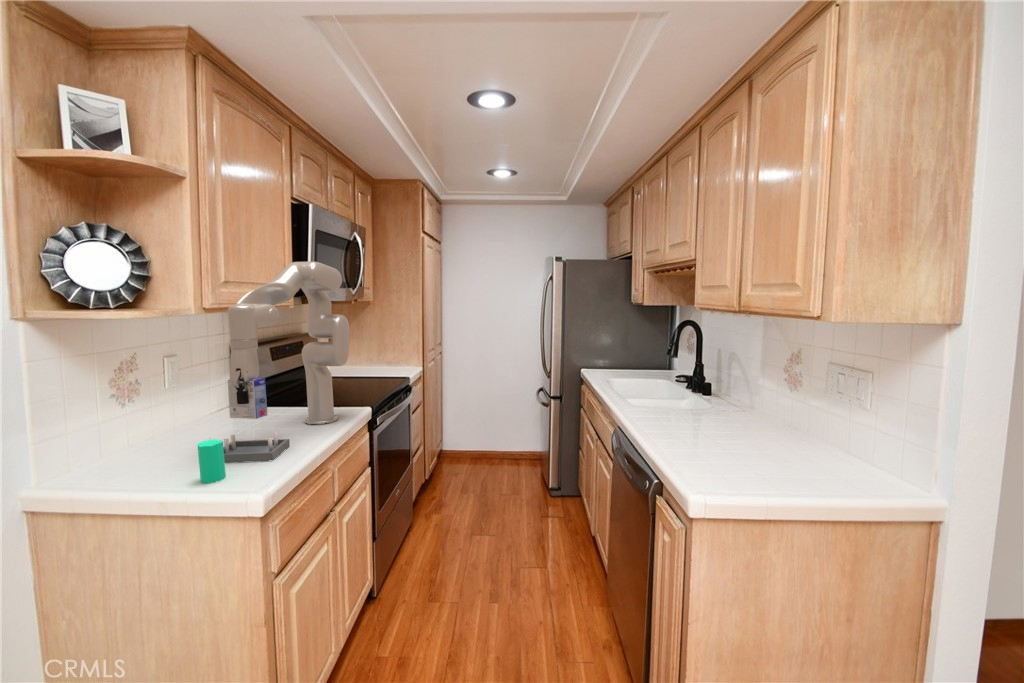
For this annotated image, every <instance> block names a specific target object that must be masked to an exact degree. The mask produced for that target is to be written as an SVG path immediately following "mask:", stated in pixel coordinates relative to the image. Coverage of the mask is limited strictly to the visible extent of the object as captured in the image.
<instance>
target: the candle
mask: <svg viewBox="0 0 1024 683" xmlns="http://www.w3.org/2000/svg"><path fill="white" fill-rule="evenodd" d="M223 447H224V440H220V439H211V438H208V439H206V440H203V441H201V442H198V444H197V452H198V455H197V456H198V464H199V465H198V466H199V477H200V482H201V483H202V482H203V483H202V484H212V483H211V482H214V483H217V482H216V481H218V482H221V481H222V479H223V480H224V478H225V479H226V477H227V475H226V463H225V461H224V449H223ZM220 480H221V481H220Z"/></svg>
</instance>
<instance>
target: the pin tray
mask: <svg viewBox="0 0 1024 683" xmlns="http://www.w3.org/2000/svg"><path fill="white" fill-rule="evenodd" d="M272 435H273V436H268V437H267V439H254V440H236V434H230V441H231V442H230V443H229V438H224V439H223V449H224V461H225V464H230V462H238V463H244V462H243V461H261V462H270V461H269V460H274V459H275V458H276V457H277V456H278V455H279V456H281V453H282V452H283V451H284V450H285V449H286V450H287V449H288V448H290V447H289V446H291V445H290V438H279V436H278V433H277V432H274V433H273V434H272ZM278 438H279V439H278ZM286 450H285V451H286ZM285 451H284V452H285ZM284 452H283V453H284ZM283 453H282V454H283ZM279 456H278V457H279ZM278 457H277V458H278ZM277 458H276V459H277ZM276 459H275V460H276ZM275 460H274V461H275Z"/></svg>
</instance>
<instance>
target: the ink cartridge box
mask: <svg viewBox="0 0 1024 683" xmlns="http://www.w3.org/2000/svg"><path fill="white" fill-rule="evenodd" d="M240 381H244V380H240ZM242 385H244V384H242ZM266 385H267V384H266V378H265V377H258V378H254V379H251V380H249V381H248V382H247V390H246V391H248V399H249V403H248V404H237V394H236V388H235V387H234V384H233V382H231V379H228V380H227V394H228V409H229V410H228V412H229V418H230V419H248V420H257V419H260V418H263V417H266V416H268V403H267V402H268V400H267V389H266V388H267V386H266Z"/></svg>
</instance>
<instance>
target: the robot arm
mask: <svg viewBox="0 0 1024 683" xmlns="http://www.w3.org/2000/svg"><path fill="white" fill-rule="evenodd" d="M342 283H343V277H342V274H341V272H340V271H339V270H338V269H337V268H336V267H332V266H330V265H327V264H324V263H322V262H318V261H312V260H311V261H293V262H291V263H288V264H287V265H286V266H284V267H283V269H282V270H281V271H280V272H279V273H278V274H277V275H276V276H275V277H274V278H273V279H272V280H271V281H270V282H268V283H266V284H263V285H261V286H260V287H258V288H255V289H253V290H251V291H249V292H247V293H246V294H244V295H243V296H242V297H241V298H240V299H239V300H238V301H237V302H236V303H235V304H234V305H231V306H229V307H228V309H227V317H228V318H227V320H228V332H229V345H230V347H229V348H230V359H229V360H230V361H229V364H230V365H229V366H230V367H229V368H230V371H229V372H230V374H229V375H230V380H231V382H233V384H234V387H235V388H236V394H237V404H248V403H249V399H248V391H246V390H247V382H248V381H249V380H251V379H254V378H260V377H259V376H260V363H259V362H260V361H259V356H258V349H259V343H258V342H259V341H258V330H257V327H258V328H261V327H263V328H265V327H266V328H267V327H272V326H274V325H275V324H277V322H278V321H279V319H280V313H279V309H278V308H277V307H276V306H277V305H281V304H283V303H286V302H289V301H290V300H292V299H293V298H294V297H295V295H296V293H298V292H299V291H300V289H301V290H302V292H303V293H304V295H305V297H306V299H307V302H308V314H307V333H308V335H309V336H310V337H311V338H313V339H332V341H313V342H312V341H311V342H307V344H305V345H303V347H302V349H301V358H302V362H303V366H304V370H305V380H306V381H305V382H306V397H307V398H306V399H307V400H306V401H307V414H308V416H307V417H306V418H304V420H303V421H304V424H306V423H307V424H306V425H311V424H318V425H325V423H327V424H330V423H331V424H332V423H334V422H336V421H338V419H339V415H337V414H335V412H334V393H333V392H334V390H333V376H332V373H331V371H330V369H329V368H328V367H341V366H342V367H343V366H344V365H345V364H346V363H347V362H348V358H349V353H350V352H349V351H350V347H349V346H350V333H351V331H350V323H349V321H348V318H347V317H346V316H345V315H343V314H338V313H335V314H332V299H331V298H330V297H329V295H328V294H327V293H326V291H327V292H329V291H337V290H339V289H340V287H341V286H342ZM240 380H244V381H240ZM242 384H244V385H242Z"/></svg>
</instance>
